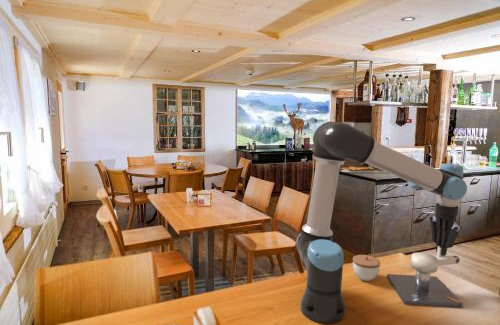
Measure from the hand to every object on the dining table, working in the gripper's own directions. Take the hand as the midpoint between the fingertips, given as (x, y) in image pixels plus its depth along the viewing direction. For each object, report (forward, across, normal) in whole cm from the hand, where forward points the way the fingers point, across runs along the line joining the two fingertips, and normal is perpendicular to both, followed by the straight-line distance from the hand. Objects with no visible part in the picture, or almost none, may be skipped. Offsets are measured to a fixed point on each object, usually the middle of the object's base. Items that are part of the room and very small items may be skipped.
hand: (439, 261), depth 132 cm
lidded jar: (+11, -14, -23) cm, 29 cm away
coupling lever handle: (+1, +2, -3) cm, 4 cm away
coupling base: (+10, +1, -9) cm, 14 cm away
